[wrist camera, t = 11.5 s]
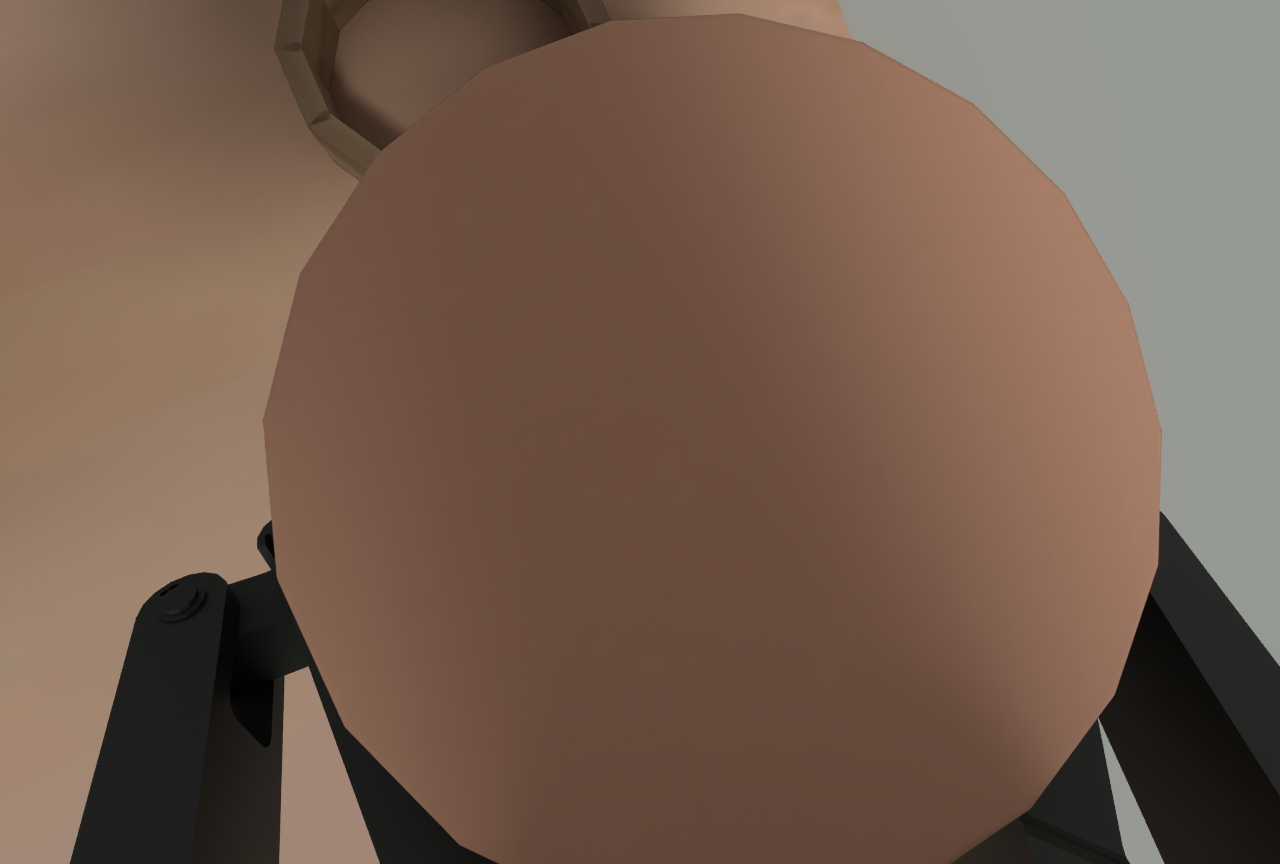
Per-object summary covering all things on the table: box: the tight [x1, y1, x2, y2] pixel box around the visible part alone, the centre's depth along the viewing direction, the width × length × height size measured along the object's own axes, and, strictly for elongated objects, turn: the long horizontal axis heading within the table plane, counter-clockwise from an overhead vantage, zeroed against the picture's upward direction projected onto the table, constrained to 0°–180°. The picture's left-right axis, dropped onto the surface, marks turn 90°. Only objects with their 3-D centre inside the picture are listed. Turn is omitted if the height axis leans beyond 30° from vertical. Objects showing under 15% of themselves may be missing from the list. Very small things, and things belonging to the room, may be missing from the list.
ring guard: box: [274, 0, 611, 181], centre depth 29 cm, size 16×16×3 cm
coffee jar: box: [263, 14, 1162, 864], centre depth 15 cm, size 11×11×18 cm
